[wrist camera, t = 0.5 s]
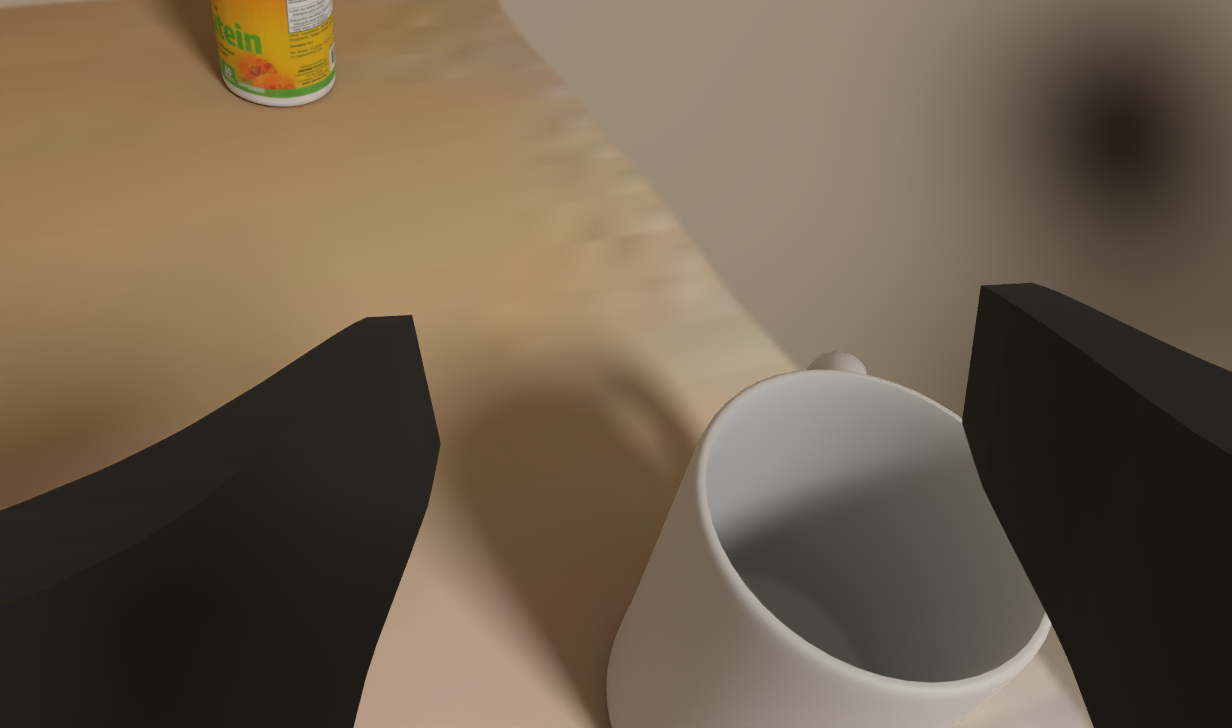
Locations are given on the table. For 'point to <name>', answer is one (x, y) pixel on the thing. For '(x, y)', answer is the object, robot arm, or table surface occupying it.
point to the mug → (825, 569)
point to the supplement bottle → (276, 49)
